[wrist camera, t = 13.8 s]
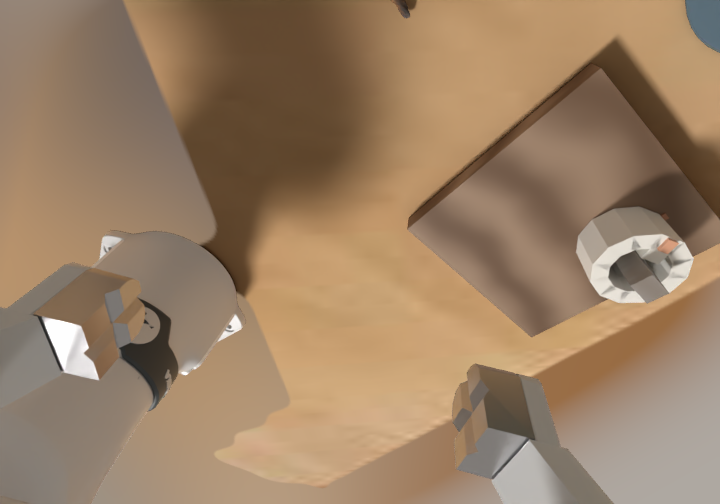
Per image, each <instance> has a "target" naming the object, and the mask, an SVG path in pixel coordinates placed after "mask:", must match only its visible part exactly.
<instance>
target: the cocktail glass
mask: <svg viewBox="0 0 720 504" xmlns="http://www.w3.org/2000/svg"><path fill="white" fill-rule="evenodd" d="M685 4H686V11H687V17H688V20H689V22H690V25H691V28H692V29H693V31H694V32H695V34H696V36H697V37H698V38H699V39H700V40H701V41H702V42H703V43H704V44H705V45H706V46H708V47H710V48H711V49H713V50H715V51H717V52H719V53H720V0H685Z"/></svg>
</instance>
